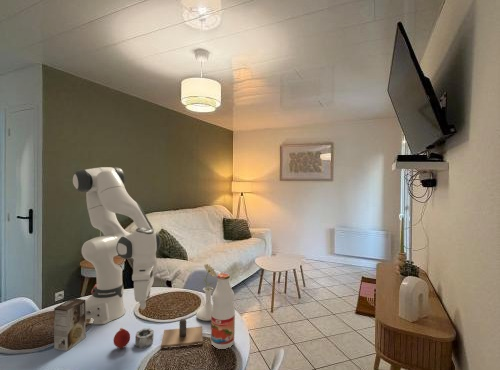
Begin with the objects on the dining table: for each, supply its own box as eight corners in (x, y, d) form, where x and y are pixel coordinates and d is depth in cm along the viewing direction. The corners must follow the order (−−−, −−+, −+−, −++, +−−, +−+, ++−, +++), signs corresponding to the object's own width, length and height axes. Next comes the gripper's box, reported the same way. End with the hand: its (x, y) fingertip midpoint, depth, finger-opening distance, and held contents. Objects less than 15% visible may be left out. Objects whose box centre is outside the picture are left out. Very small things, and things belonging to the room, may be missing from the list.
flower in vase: (222, 320, 125) (223, 267, 125) (198, 325, 121) (199, 270, 121) (215, 308, 137) (216, 260, 137) (193, 312, 133) (194, 262, 133)
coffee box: (72, 335, 112) (72, 297, 111) (86, 337, 110) (86, 299, 110) (53, 349, 103) (53, 307, 102) (67, 351, 101) (67, 309, 101)
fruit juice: (238, 340, 110) (239, 272, 110) (227, 353, 101) (228, 280, 101) (218, 334, 114) (219, 269, 114) (206, 346, 105) (207, 276, 105)
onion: (125, 341, 108) (125, 322, 108) (132, 347, 104) (132, 327, 104) (110, 348, 103) (111, 328, 103) (117, 354, 100) (117, 333, 100)
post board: (160, 350, 103) (161, 327, 103) (164, 334, 114) (164, 314, 114) (202, 345, 107) (202, 324, 106) (202, 330, 117) (202, 310, 117)
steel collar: (134, 348, 104) (134, 338, 104) (137, 339, 110) (137, 329, 110) (151, 346, 105) (151, 336, 105) (154, 337, 111) (154, 327, 111)
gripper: (142, 261, 116) (142, 293, 117) (130, 277, 96) (131, 316, 96) (157, 260, 118) (157, 292, 118) (149, 276, 98) (149, 314, 98)
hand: (145, 303), depth 107 cm, fingers open, 8 cm apart
